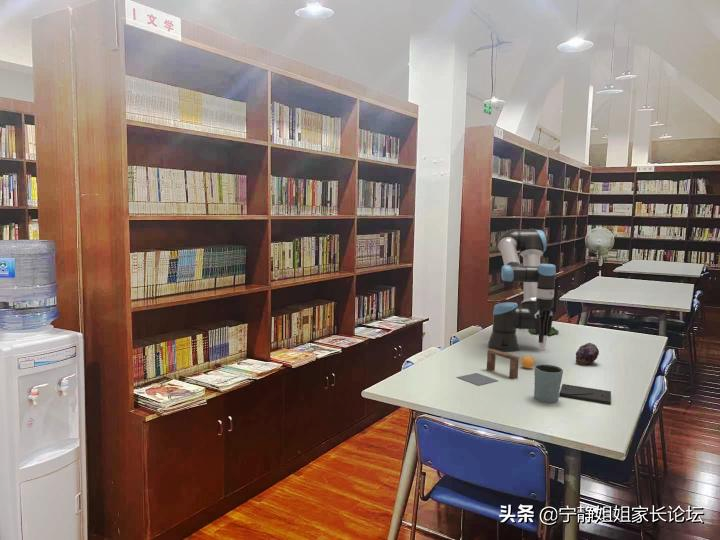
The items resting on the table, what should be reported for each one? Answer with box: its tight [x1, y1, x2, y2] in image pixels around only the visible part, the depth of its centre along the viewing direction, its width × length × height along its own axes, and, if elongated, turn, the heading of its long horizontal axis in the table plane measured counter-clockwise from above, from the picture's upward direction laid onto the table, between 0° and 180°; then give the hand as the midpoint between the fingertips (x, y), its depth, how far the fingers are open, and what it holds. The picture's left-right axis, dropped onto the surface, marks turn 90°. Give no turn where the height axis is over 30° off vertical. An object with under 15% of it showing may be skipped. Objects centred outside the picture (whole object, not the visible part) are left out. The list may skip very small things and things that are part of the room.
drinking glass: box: [533, 363, 564, 404], centre depth 200 cm, size 10×10×12 cm
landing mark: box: [456, 372, 499, 387], centre depth 222 cm, size 12×12×1 cm
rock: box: [575, 342, 600, 366], centre depth 251 cm, size 12×9×10 cm
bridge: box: [486, 348, 520, 380], centre depth 230 cm, size 3×14×9 cm, turn 35°
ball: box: [520, 355, 535, 369], centre depth 240 cm, size 6×6×6 cm
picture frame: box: [559, 383, 612, 406], centre depth 206 cm, size 13×2×18 cm
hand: (541, 349), depth 244 cm, fingers closed
